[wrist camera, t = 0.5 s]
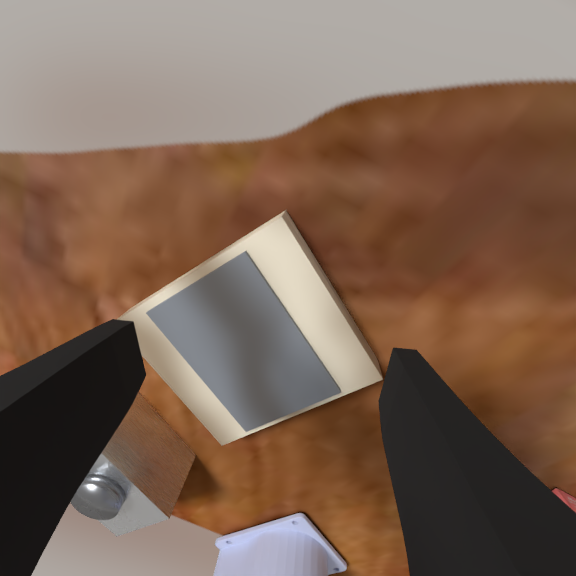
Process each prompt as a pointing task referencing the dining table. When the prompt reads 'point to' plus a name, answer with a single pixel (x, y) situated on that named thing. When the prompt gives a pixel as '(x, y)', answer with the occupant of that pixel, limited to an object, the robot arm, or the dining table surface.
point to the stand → (254, 334)
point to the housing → (136, 473)
